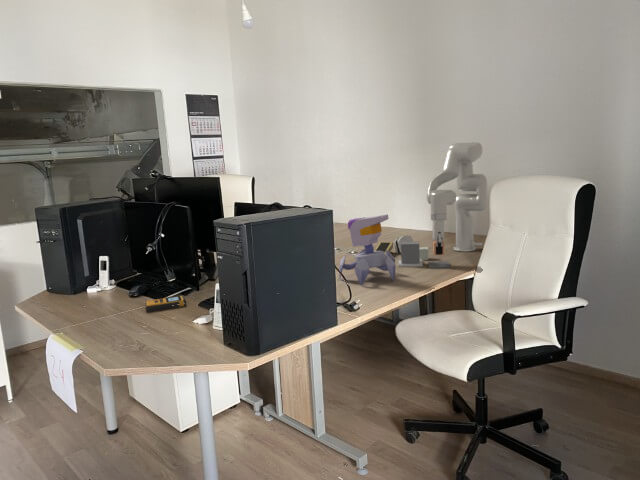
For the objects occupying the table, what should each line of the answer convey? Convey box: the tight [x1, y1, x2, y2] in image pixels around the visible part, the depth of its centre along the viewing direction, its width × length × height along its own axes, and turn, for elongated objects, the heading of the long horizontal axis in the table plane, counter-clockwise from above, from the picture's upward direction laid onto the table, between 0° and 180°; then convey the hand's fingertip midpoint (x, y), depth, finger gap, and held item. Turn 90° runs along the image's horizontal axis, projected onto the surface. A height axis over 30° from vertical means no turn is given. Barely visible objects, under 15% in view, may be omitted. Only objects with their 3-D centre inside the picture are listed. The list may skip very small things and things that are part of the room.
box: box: [374, 241, 394, 259], centre depth 272 cm, size 8×22×5 cm, turn 160°
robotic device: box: [338, 214, 397, 287], centre depth 226 cm, size 26×25×30 cm
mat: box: [427, 261, 451, 269], centre depth 245 cm, size 10×10×1 cm
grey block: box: [419, 246, 429, 261], centre depth 260 cm, size 5×5×6 cm
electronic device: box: [145, 294, 187, 313], centre depth 203 cm, size 8×16×3 cm, turn 111°
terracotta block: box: [432, 240, 445, 256], centre depth 243 cm, size 5×5×6 cm
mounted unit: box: [397, 241, 424, 268], centre depth 250 cm, size 12×10×11 cm
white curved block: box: [393, 235, 414, 254], centre depth 282 cm, size 17×5×10 cm, turn 142°
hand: (438, 252), depth 244 cm, fingers closed on terracotta block, 5 cm apart
